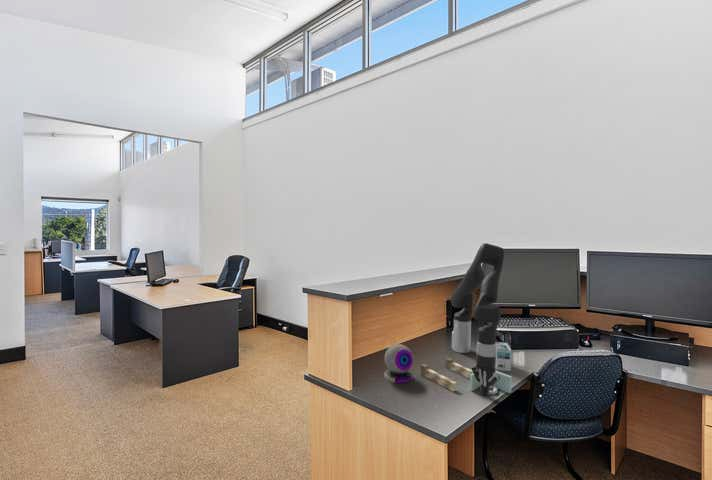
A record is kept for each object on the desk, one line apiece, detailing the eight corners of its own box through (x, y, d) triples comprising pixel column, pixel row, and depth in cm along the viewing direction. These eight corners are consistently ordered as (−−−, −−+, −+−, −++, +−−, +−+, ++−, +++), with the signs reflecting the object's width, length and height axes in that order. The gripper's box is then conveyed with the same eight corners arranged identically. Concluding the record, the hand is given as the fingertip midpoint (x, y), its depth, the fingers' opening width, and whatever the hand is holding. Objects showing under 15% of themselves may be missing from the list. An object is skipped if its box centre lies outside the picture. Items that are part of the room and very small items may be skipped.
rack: (420, 374, 174) (420, 364, 173) (449, 366, 183) (449, 357, 183) (452, 391, 157) (452, 381, 156) (482, 382, 166) (482, 372, 166)
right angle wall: (469, 391, 158) (470, 374, 158) (485, 384, 166) (485, 367, 165) (495, 402, 149) (496, 384, 148) (511, 394, 157) (511, 376, 156)
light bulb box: (511, 371, 178) (512, 349, 178) (496, 370, 180) (497, 348, 179) (506, 363, 189) (507, 342, 188) (492, 362, 190) (493, 341, 189)
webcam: (392, 385, 162) (393, 351, 161) (379, 373, 174) (379, 342, 173) (418, 380, 167) (418, 347, 166) (403, 369, 179) (403, 339, 178)
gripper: (467, 349, 156) (465, 389, 157) (493, 359, 145) (492, 403, 146) (479, 346, 160) (478, 385, 161) (505, 356, 149) (504, 398, 150)
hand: (484, 394), depth 154 cm, fingers closed
